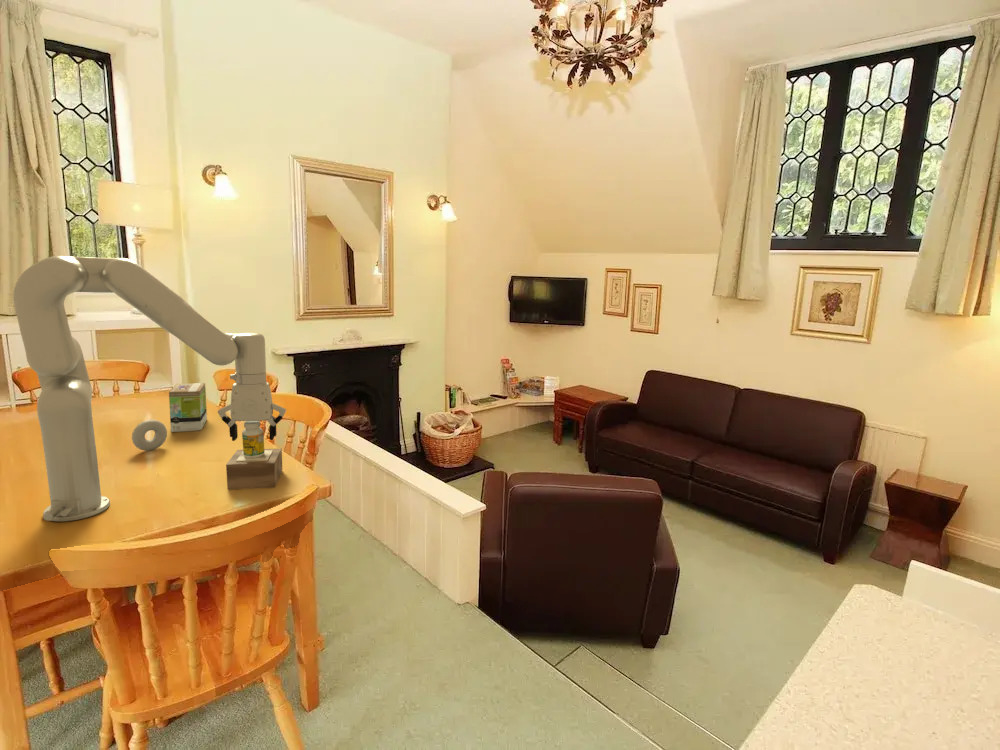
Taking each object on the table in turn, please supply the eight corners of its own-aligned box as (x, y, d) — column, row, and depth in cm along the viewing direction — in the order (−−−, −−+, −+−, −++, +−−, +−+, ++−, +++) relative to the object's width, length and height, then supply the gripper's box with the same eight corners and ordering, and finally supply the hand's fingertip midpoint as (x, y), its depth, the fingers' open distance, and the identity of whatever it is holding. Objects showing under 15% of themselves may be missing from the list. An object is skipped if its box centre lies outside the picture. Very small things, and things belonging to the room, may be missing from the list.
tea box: (202, 430, 194) (199, 390, 191) (170, 432, 190) (167, 391, 187) (207, 419, 208) (205, 381, 205) (177, 421, 204) (174, 382, 201)
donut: (136, 455, 167) (133, 424, 166) (131, 453, 169) (128, 422, 167) (170, 447, 176) (168, 417, 174) (165, 445, 178) (162, 415, 176)
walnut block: (275, 487, 148) (274, 461, 147) (227, 489, 146) (226, 463, 144) (282, 471, 160) (281, 447, 158) (238, 472, 157) (237, 448, 156)
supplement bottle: (268, 453, 153) (266, 420, 152) (257, 459, 148) (255, 425, 146) (251, 451, 154) (249, 418, 152) (239, 457, 149) (237, 423, 147)
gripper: (212, 381, 142) (215, 444, 145) (282, 381, 145) (284, 442, 149) (220, 375, 149) (223, 435, 152) (287, 376, 153) (288, 434, 156)
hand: (253, 438), depth 150 cm, fingers open, 9 cm apart
